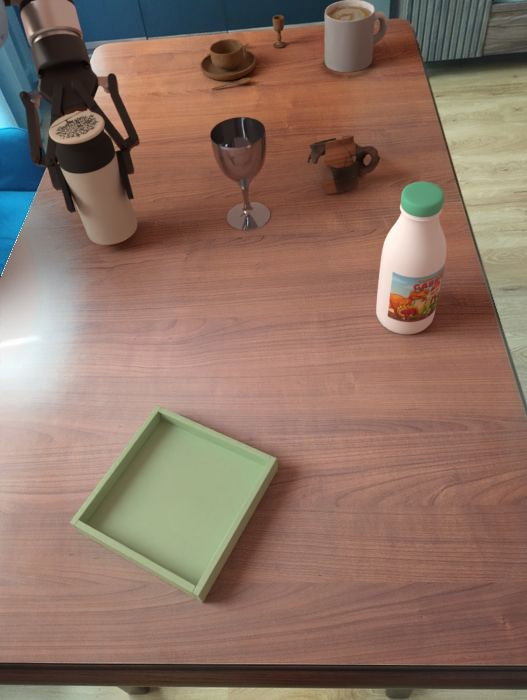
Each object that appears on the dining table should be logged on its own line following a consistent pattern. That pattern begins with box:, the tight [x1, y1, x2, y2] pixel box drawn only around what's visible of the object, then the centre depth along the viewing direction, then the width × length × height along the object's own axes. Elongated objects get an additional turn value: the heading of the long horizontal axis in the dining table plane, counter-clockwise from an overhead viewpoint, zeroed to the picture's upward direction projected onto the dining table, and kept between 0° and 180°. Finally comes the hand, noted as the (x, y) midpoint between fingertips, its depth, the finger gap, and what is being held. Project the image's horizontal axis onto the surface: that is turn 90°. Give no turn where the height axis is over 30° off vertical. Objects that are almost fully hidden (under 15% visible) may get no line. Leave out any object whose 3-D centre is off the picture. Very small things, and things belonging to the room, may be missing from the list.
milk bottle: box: [375, 180, 448, 335], centre depth 71 cm, size 8×8×20 cm
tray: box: [69, 404, 279, 604], centre depth 64 cm, size 16×16×2 cm
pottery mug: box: [306, 135, 381, 195], centre depth 97 cm, size 12×10×8 cm
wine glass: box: [209, 116, 271, 231], centre depth 89 cm, size 8×8×15 cm
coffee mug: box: [324, 0, 388, 73], centre depth 120 cm, size 13×10×10 cm
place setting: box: [199, 14, 287, 90], centre depth 124 cm, size 18×20×6 cm
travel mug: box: [48, 111, 138, 246], centre depth 86 cm, size 8×8×18 cm
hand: (101, 204), depth 85 cm, fingers closed on travel mug, 8 cm apart
